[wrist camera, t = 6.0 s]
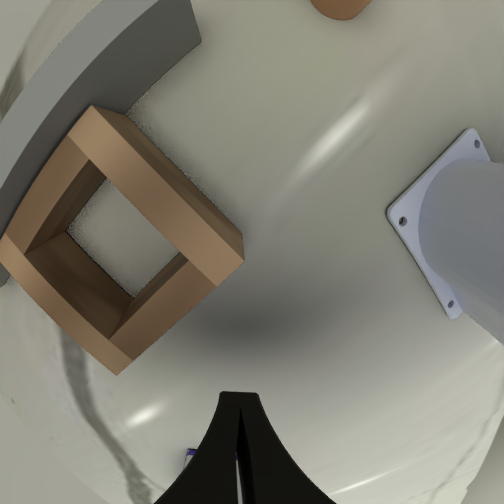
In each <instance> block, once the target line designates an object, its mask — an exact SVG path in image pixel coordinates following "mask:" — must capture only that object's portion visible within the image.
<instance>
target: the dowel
mask: <svg viewBox="0 0 504 504" xmlns="http://www.w3.org/2000/svg"><path fill="white" fill-rule="evenodd" d="M371 1H372V0H311V2H312V4H313V5H314V7H315V8H316V9H317V10H318V11H319V12H321V13H322V14H324V15H325V16H327V17H330V18H333V19H336V20H348V19H352V18H354V17H355V16H357V15H358V14H359V13H360V12H361V11H362V10H363V9H364V8H365V7H366V6H367V5H368V4H369V3H370V2H371Z"/></svg>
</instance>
